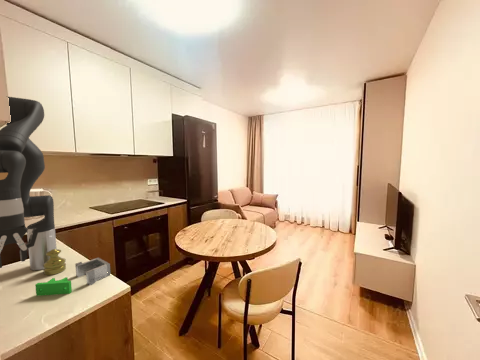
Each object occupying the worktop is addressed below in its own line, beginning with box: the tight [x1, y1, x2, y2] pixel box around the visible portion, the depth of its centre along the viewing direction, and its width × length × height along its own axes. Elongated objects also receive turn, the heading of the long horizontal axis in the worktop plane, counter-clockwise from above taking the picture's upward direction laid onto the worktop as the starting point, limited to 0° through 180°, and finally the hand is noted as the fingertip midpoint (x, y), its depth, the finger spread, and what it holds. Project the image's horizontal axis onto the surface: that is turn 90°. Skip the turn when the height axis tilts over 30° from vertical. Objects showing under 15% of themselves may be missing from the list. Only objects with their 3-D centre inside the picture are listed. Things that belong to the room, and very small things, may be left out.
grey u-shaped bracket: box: [74, 257, 112, 286], centre depth 85 cm, size 13×8×5 cm, turn 58°
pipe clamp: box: [34, 276, 73, 297], centre depth 75 cm, size 11×4×5 cm, turn 97°
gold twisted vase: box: [42, 248, 67, 276], centre depth 89 cm, size 7×7×10 cm
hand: (11, 263), depth 65 cm, fingers open, 4 cm apart
